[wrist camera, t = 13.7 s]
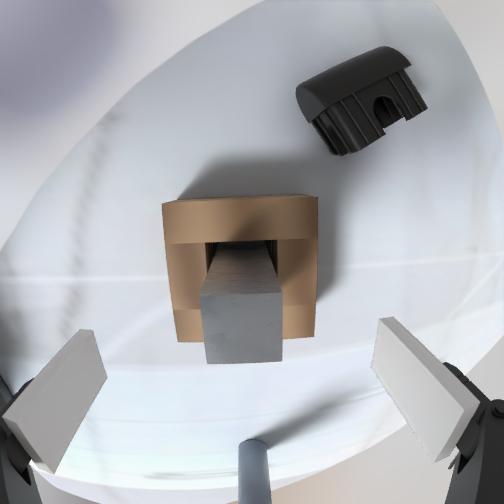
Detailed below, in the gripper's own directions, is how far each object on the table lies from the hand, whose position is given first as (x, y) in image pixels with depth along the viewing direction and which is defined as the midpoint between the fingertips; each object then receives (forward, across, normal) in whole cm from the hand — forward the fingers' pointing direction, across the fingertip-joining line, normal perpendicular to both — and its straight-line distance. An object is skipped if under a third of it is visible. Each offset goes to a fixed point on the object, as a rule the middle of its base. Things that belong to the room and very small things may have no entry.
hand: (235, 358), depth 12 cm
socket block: (+16, -1, 0) cm, 16 cm away
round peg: (+16, -1, +28) cm, 32 cm away
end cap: (+16, -12, -15) cm, 25 cm away
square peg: (+16, -1, 0) cm, 16 cm away
